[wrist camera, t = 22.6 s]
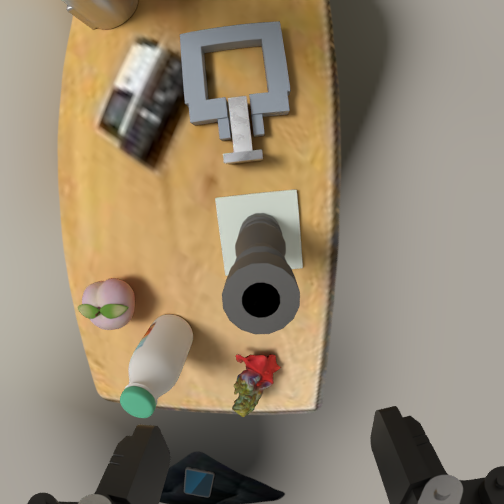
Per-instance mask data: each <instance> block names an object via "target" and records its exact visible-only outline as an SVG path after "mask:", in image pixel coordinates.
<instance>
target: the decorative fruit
mask: <svg viewBox="0 0 504 504" xmlns="http://www.w3.org/2000/svg"><path fill="white" fill-rule="evenodd" d="M134 309H135V296H134V292H133V290H132V288H131V287H130V286H129V285H128V284H127V283H126V282H124V281H122V280H120V279H115V278H111V279H108V280H106V281H99V282H95V283H92V284H91V285H89V286H88V287H87V288H86V289H85V291H84V293H83V297H82V305H79V306H78V310H79V312H80V313H81V314H82V315H83V316H85V317H86V318H89V319H90V320H91V321H92V323H93V324H95V325H96V326H97V327H99V328H101V329H105V330H113V329H119V328H122V327H123V326H125V325H126V324H127V323H128V322H129V321H130V320H131V318H132V316H133V313H134Z"/></svg>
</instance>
